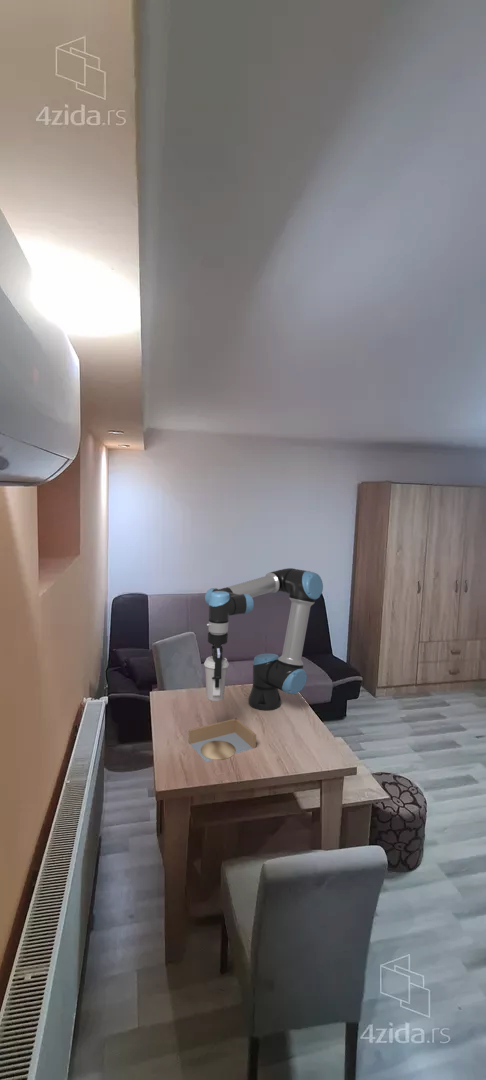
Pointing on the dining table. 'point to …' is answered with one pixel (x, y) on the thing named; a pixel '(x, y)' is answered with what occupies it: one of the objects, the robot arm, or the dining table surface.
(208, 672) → the coffee cup
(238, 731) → the tray
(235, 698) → the dining table surface
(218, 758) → the pad
